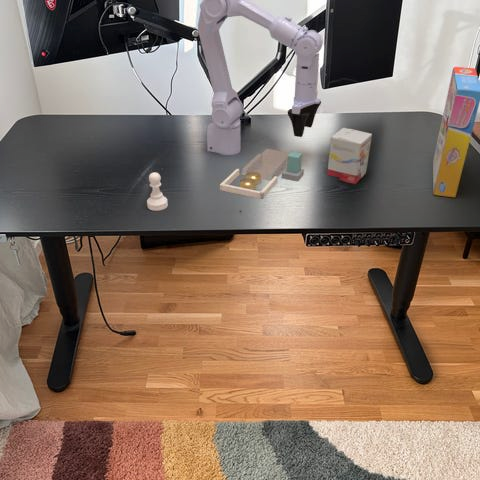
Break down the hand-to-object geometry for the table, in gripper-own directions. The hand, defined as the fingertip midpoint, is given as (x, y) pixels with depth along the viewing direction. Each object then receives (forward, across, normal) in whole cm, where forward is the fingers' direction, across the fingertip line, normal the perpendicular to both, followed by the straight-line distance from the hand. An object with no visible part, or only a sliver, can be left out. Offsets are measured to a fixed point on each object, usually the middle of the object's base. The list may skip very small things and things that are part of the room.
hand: (303, 131), depth 142 cm
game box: (+10, +7, -38) cm, 40 cm away
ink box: (+10, -1, -14) cm, 17 cm away
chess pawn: (+10, -38, +24) cm, 46 cm away
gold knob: (+10, -17, +7) cm, 21 cm away
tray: (+10, -20, +7) cm, 23 cm away
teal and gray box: (+10, -9, -1) cm, 14 cm away
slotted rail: (+10, -6, +7) cm, 13 cm away
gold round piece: (+10, -21, +7) cm, 24 cm away
